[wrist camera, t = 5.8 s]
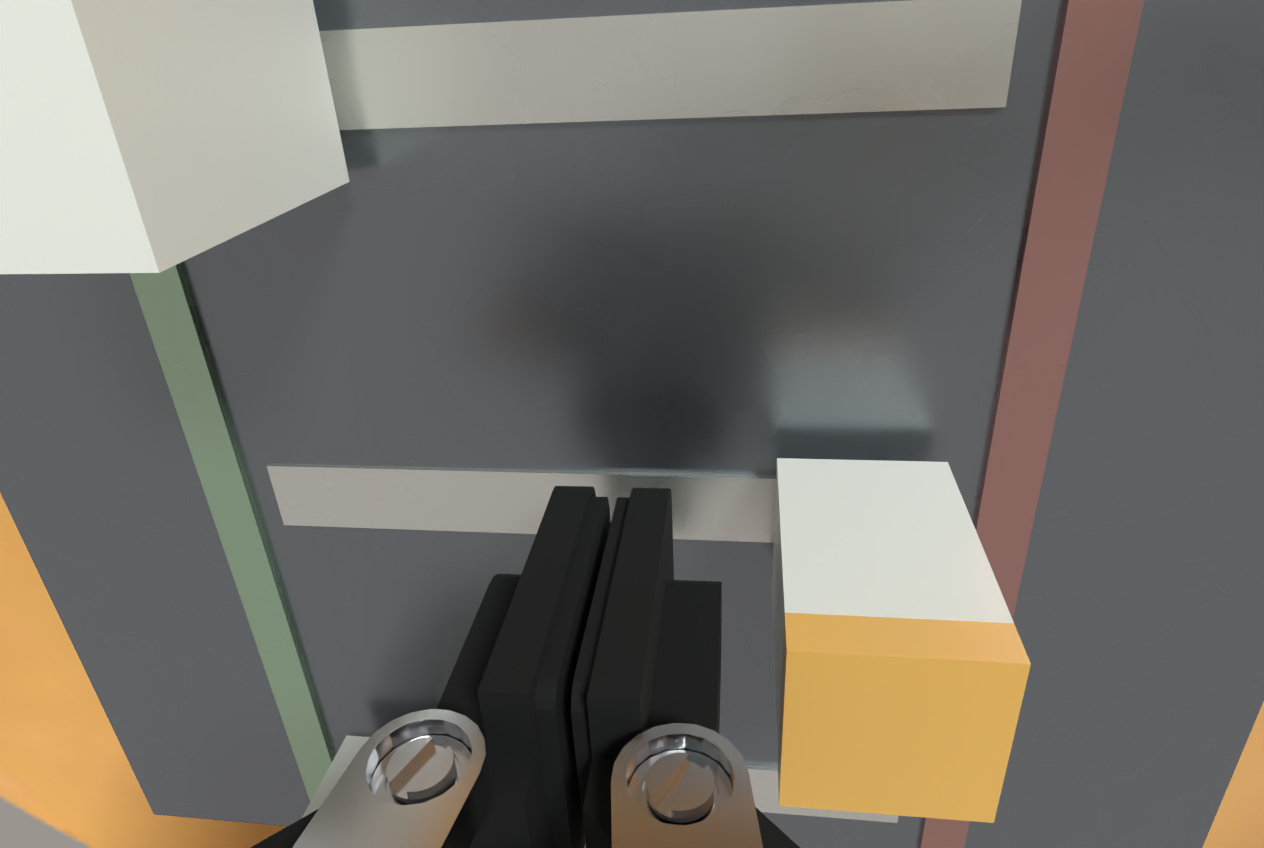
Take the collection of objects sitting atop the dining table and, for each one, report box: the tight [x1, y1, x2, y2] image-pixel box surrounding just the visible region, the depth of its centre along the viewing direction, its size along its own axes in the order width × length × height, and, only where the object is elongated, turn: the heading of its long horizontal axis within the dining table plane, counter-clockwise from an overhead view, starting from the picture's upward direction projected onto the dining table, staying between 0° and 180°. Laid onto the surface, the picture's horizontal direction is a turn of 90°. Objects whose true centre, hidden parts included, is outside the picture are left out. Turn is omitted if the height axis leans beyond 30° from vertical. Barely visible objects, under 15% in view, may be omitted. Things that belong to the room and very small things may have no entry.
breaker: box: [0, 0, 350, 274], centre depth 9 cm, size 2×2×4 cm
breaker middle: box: [772, 458, 1031, 823], centre depth 11 cm, size 2×2×4 cm
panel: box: [0, 0, 1264, 848], centre depth 14 cm, size 22×18×2 cm
